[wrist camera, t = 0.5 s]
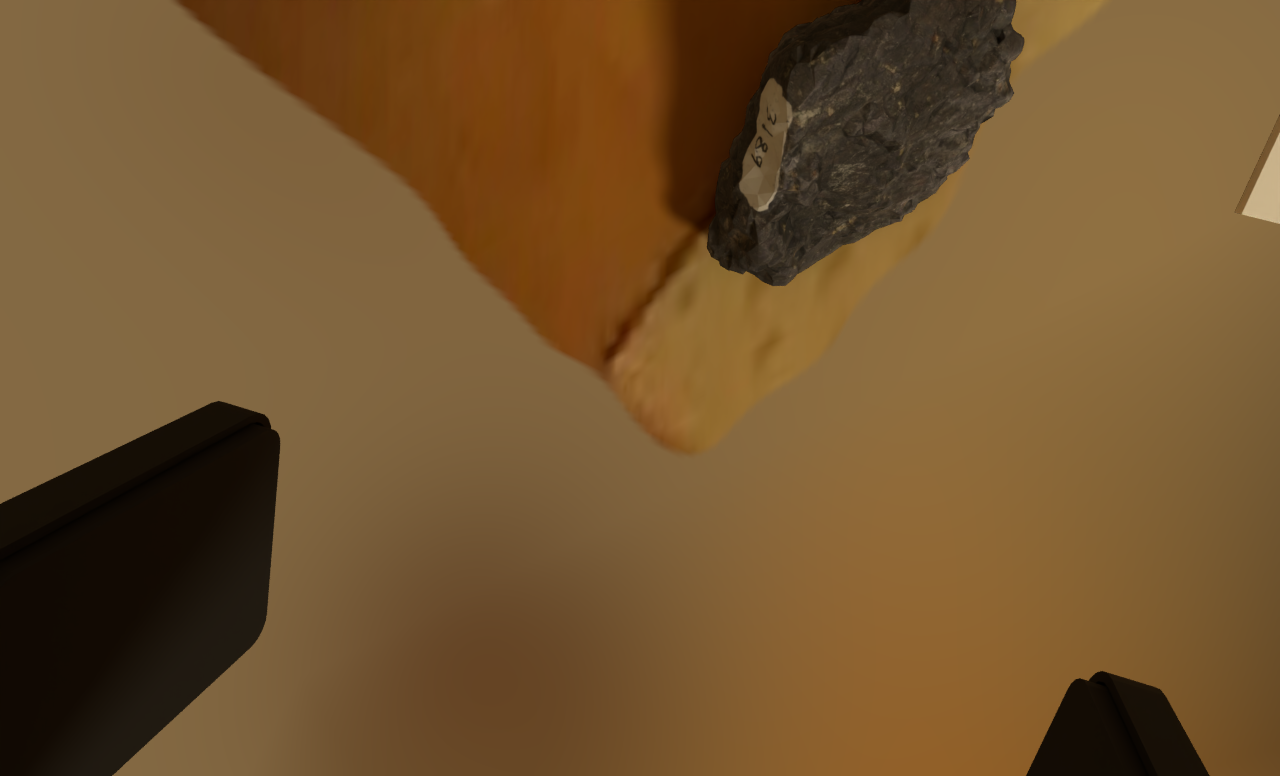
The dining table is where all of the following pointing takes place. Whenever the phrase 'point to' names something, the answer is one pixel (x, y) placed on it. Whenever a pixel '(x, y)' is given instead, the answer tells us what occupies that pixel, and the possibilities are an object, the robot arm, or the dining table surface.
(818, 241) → the rock
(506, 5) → the dining table surface
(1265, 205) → the cream board with squares
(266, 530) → the robot arm
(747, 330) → the dining table surface
